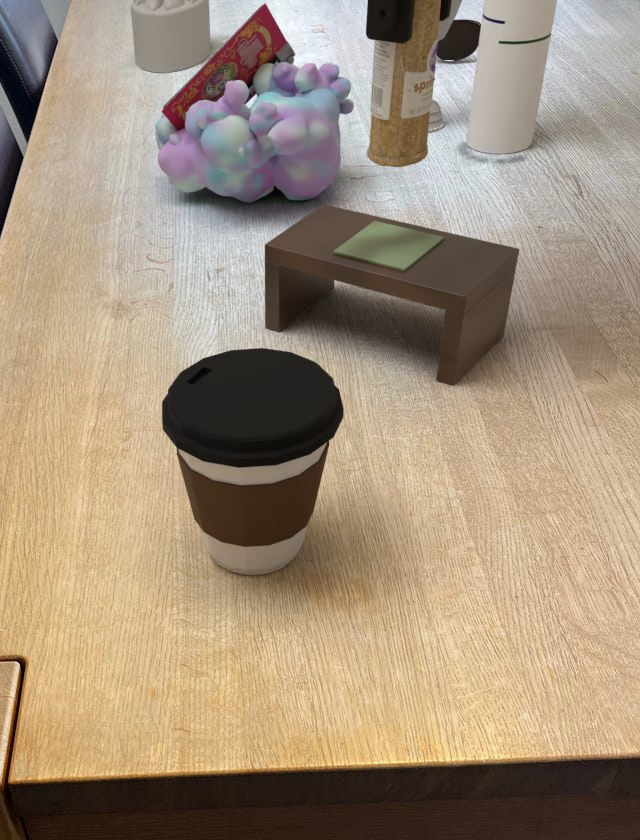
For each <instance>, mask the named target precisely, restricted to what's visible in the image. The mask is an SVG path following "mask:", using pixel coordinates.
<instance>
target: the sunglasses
mask: <svg viewBox="0 0 640 840" xmlns="http://www.w3.org/2000/svg"><path fill="white" fill-rule="evenodd" d="M480 30H481V22H479V21H477V20H474V19H464V18H463V19H461V18H459V19H454V20H453V22H452V24H451V26H450V28H449V30H448V32H447V33H446V35H445V37H444V38H443V39H442V40H440V41H438V45H437V55H436V58H438V59H440V61H443V60H455V61H454V62H458V61H462V60H464V59H467V58H468V57H470V56H472V55H473V54H474V53H475V52H476V51H477V50H478V45H479V37H480Z"/></svg>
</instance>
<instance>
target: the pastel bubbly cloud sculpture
mask: <svg viewBox="0 0 640 840" xmlns="http://www.w3.org/2000/svg"><path fill="white" fill-rule="evenodd" d="M295 56H296V52H295V51H294V49H293V47H292V45H291V44H290V43H289V41H288V40H287V39H286V37H285V35H284V33H283V32H282V29H281V28H280V26H279V25H278V23H277V20H276V19H275V17H274V16H273V14H272V12H271V10H270V8H269V7H268V5H267V3H266V2H263V3H262V4H261V5H260V6H259V7H258V8H257V10H256V11H254V12H253V13H252V14H251V15H250V16H249V17H248V19H246V21H245V22H243V24H242V25H241V26H240V27H239V28H238V29H237V30H236V31H235V32H234V33H233V34H232V36H231V37H229V39H227V40H226V42H225V43H223V45H222V46H221V47H220V48H219V49H218V50H217V51H216V52H215V53H214V54H213V55H212V56H211V57H210V58H209V60H207V61H206V62H205V63H204V65H202V66H201V68H200V69H199V70H198V71H197V72H196V73H195V74H194V75H193V76H192V77H191V78H190V79H189V80H188V81H187V82H186V83H185V84H184V85H182V87H181V88H180V89H178V91H177V92H176V93H175V94H174V95H173V96H172V97H171V98H170V99H169V100H168V101H167V102H166V103H164V105H163V108H161V109H160V112H161V113H162V114H161V116H160V119H158V120H157V121H156V123H155V125H154V127H155V128H154V129H155V134H154V137H155V138H154V139H155V142H156V145H157V148H158V153H157V163H158V166H159V168H160V170H161V171H162V172H163V173H164V174H165V175H166V176H167V178H168V179H169V182H170V184H171V185H172V186H173V187H174V188H175V189H177V190H178V191H181V192H183V193H194V192H195V193H196V192H198V191H201V190H203V189H205V188H206V189H208V190H210V191H211V192H213V193H214V194H216V195H219V196H222V197H232V198H234V199H236V200H239V201H241V202H243V203H249V204H251V203H254V202H256V201H258V200H260V199H261V198H264V197H267V196H268V195H270V194H271V193H272V192H273V191H274V190H275V187H276V189H278V190H279V191H281V192H282V193H283V194H284V197H285V198H286V199H288V200H291V201H309V200H313V199H315V198H316V197H318V196H319V195H320V194H321V193H322V192H323V191H325V190H326V189H328V187H329V186H331V184H332V183H333V182H334V180H335V178H336V177H337V175H338V174H337V173H338V172H339V168H340V166H341V162H342V160H341V159H342V156H341V155H342V154H341V141H342V140H341V130H340V123H339V122H340V115H348V114H351V113H352V112H353V110H354V108H355V103H354V100H352V99H350V98H348V97H349V95H350V93H351V91H352V83H351V81H350V80H349V79H348V78H347V77H345V76H339V75H340V67H339V65H338V64H334V63H332V62H325V63H322V64H321V65H320V67H319V68H318V67H317V65H316V64H315V63H314V62H308V63H305V64H304V65H303V66H301V67H300V68H299V66H297V65H295V64H294V63H295V58H294V57H295ZM255 96H256V98H255V99H254V100H253V103H252V104H251V106H250V107H248V106H247V103H249V102H250V101H251V100H252V99H253V98H254V97H255Z"/></svg>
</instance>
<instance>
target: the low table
mask: <svg viewBox="0 0 640 840" xmlns="http://www.w3.org/2000/svg"><path fill="white" fill-rule="evenodd" d="M519 254H520V248H518V247H514V246H508V245H504V244H499V243H496V242H492V241H488V240H482V239H478V238H474V237H469V236H465V235H461V234H457V233H452V232H448V231H443V230H438V229H434V228H430V227H425V226H422V225H417V224H412V223H408V222H403V221H399V220H396V219H390V218H387V217H381V216H377V215H374V214H368V213H364V212H360V211H356V210H351V209H346V208H342V207H339V206H333V205H329V204H324V203H323V204H321V205H320V206H318V207H317V208H315V209H314V210H313V211H311V212H310V213H308V214H306V215H305V216H304V217H302V218H301V219H300V220H298V221H297V222H295V223H294V224H292V225H291V226H289V227H287V228H286V229H285V230H283V231H282V232H281V233H279V234H278V235H275V237H274V238H272V239H270V240H269V241H267V242H266V243H265V244H264V328H266V329H269V330H272V331H275V332H277V333H279V332H281V331H282V330H283V329H284V328H286V327H287V326H288V325H290V324H291V323H292V322H293V321H296V319H298V318H299V317H300V316H301V315H303V314H304V313H305V312H307V311H308V310H309V309H311V308H312V307H313V306H314V305H316V304H317V303H318V302H319V301H321V300H323V298H325V297H326V296H328V295H329V294H330V293H331V292H332V291H334V289H335V281H336V282H339V283H342V284H346V285H350V286H354V287H358V288H362V289H366V290H369V291H373V292H376V293H381V294H385V295H387V296H392V297H395V298H399V299H403V300H406V301H410V302H413V303H417V304H422V305H425V306H429V307H432V308H435V309H439V310H443V311H444V317H443V318H444V319H443V326H442V333H441V341H440V348H439V349H440V350H439V356H438V364H437V371H436V381H437V382H440V383H444V384H447V385H451V386H454V385H455V384H456V383H457V382H458V381H459V380H460V379H461V378H462V377H463V376H464V375H465V374H466V373H467V372H468V371H470V369H471V368H472V367H474V365H476V364H477V362H479V361H480V360H481V359H482V358H483V357H484V356H485V355H486V354H487V353H488V352H489V351H490V350H491V349H492V348H493V347H494V346H495V345H496V344H497V343H498V342H499V341H501V340H502V338H503V337H504V335H505V333H506V332H505V331H506V327H507V320H508V315H509V309H510V304H511V297H512V293H513V287H514V281H515V277H516V270H517V264H518V260H519Z"/></svg>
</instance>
